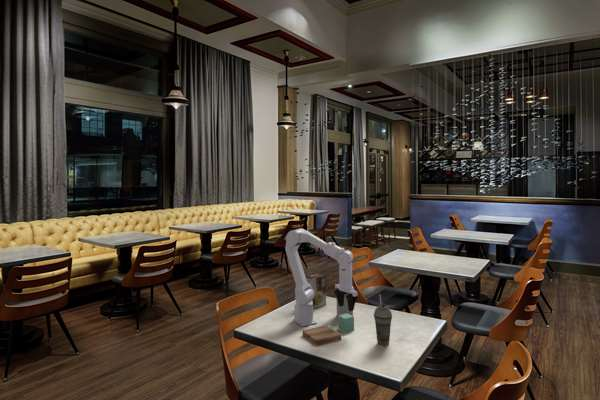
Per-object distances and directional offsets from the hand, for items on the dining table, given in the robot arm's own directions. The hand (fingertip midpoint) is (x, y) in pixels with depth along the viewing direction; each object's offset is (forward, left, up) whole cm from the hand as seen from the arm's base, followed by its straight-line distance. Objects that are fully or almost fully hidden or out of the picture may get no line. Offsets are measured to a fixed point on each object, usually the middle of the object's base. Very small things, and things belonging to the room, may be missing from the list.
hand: (346, 308), depth 162 cm
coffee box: (-35, +5, -10) cm, 37 cm away
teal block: (0, 0, -10) cm, 10 cm away
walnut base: (+2, -14, -9) cm, 17 cm away
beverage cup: (+20, +4, -10) cm, 23 cm away
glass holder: (-15, +10, -10) cm, 20 cm away
